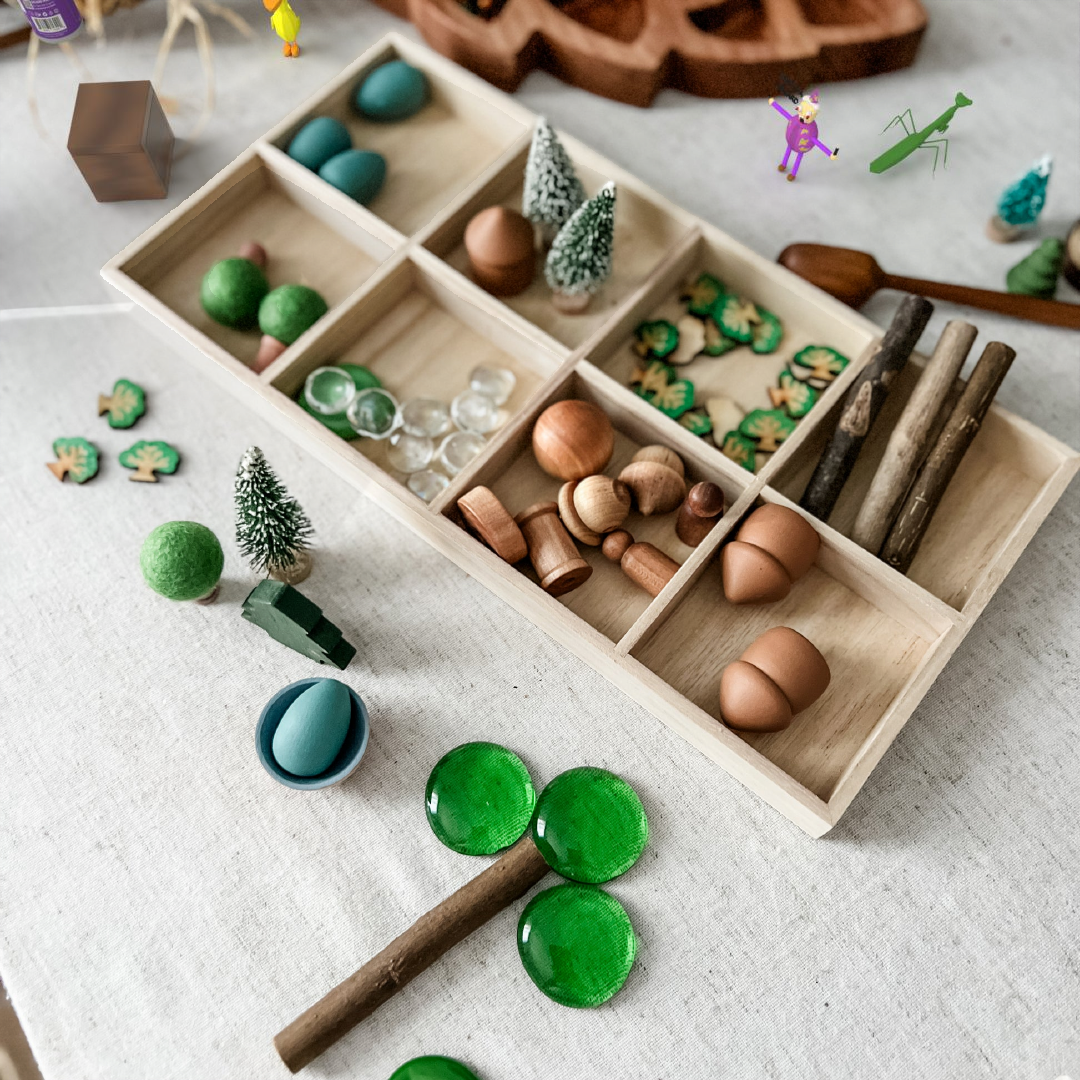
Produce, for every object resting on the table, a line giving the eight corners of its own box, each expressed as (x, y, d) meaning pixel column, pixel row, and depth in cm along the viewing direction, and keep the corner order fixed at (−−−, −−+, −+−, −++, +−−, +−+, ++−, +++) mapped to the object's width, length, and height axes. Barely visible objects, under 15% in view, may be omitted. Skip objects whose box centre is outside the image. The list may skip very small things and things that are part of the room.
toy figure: (300, 71, 118) (276, -21, 108) (272, 69, 119) (245, -22, 108) (309, 35, 121) (286, -58, 110) (282, 33, 121) (257, -59, 110)
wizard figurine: (748, 150, 113) (771, 62, 102) (768, 139, 114) (793, 51, 103) (811, 208, 109) (841, 123, 98) (831, 196, 110) (864, 111, 99)
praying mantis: (981, 150, 113) (998, 118, 109) (894, 206, 109) (908, 176, 105) (924, 105, 116) (938, 73, 112) (837, 159, 112) (848, 128, 108)
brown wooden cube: (97, 202, 109) (66, 147, 102) (108, 139, 113) (78, 83, 106) (166, 198, 109) (140, 143, 102) (174, 136, 114) (150, 79, 106)
